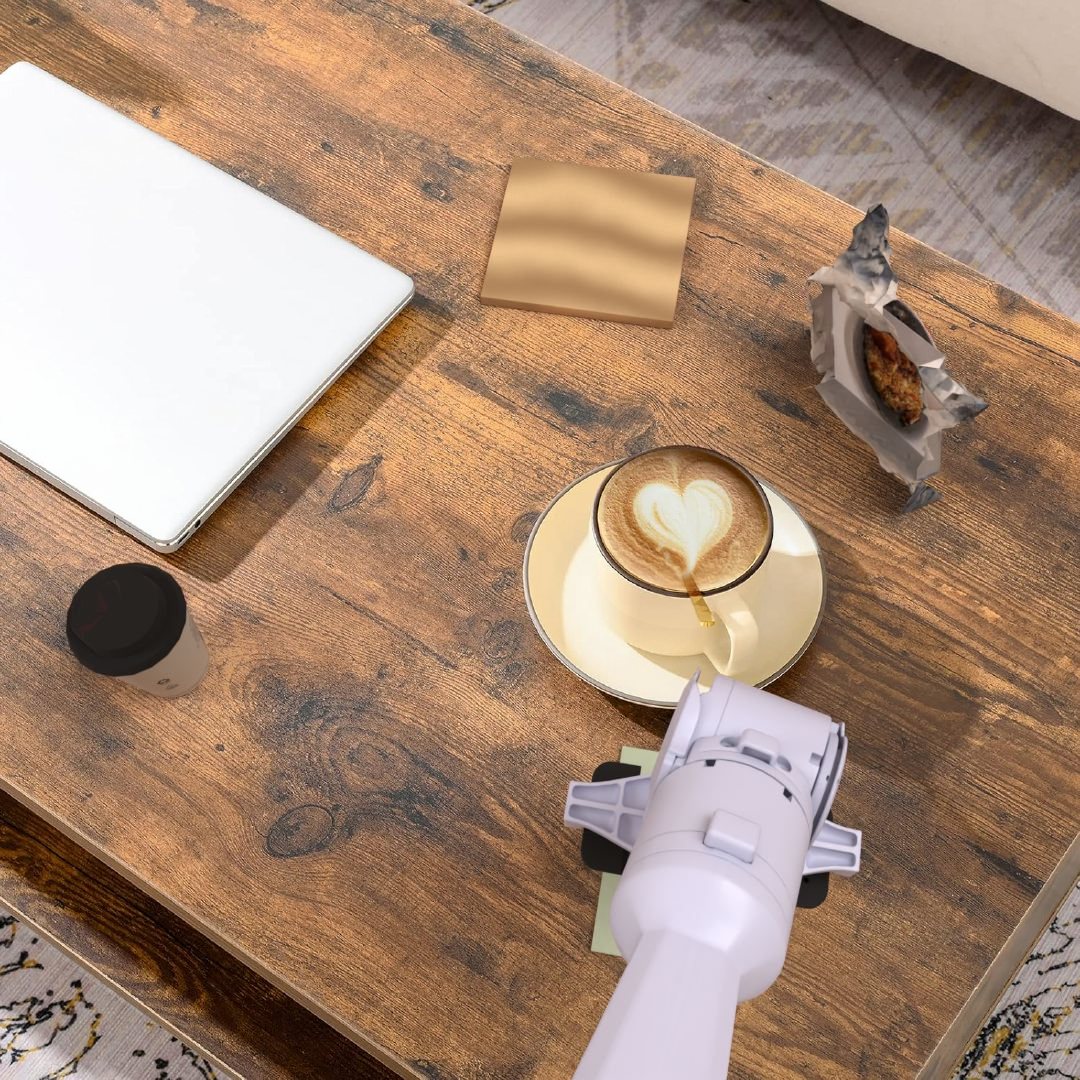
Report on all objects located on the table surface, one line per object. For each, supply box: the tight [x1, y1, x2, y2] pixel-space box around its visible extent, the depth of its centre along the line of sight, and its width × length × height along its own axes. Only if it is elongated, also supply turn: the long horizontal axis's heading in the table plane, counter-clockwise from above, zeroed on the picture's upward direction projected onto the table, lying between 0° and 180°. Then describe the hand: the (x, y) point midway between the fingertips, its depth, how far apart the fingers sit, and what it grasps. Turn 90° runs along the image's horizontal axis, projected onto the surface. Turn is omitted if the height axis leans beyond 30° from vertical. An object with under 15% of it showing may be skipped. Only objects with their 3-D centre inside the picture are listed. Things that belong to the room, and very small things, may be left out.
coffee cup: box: [65, 561, 211, 699], centre depth 69 cm, size 7×7×10 cm
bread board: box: [479, 156, 697, 330], centre depth 86 cm, size 13×14×1 cm
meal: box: [801, 202, 993, 516], centre depth 73 cm, size 15×4×13 cm, turn 24°
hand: (695, 853), depth 65 cm, fingers closed on toy figure, 7 cm apart
